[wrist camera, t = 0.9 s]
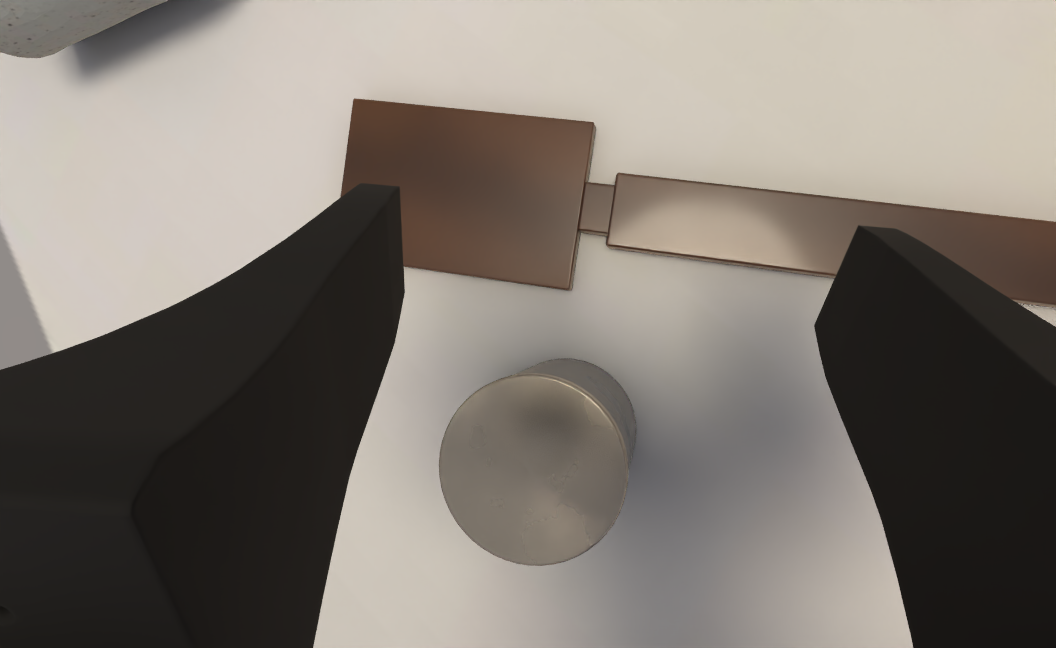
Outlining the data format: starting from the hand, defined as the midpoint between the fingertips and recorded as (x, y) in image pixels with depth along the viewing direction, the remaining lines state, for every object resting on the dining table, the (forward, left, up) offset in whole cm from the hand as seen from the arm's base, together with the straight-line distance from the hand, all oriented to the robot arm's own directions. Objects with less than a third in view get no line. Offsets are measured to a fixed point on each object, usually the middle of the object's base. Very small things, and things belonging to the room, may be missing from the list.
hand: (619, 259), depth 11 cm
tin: (-5, +2, -13) cm, 14 cm away
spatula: (+2, -2, -13) cm, 13 cm away
